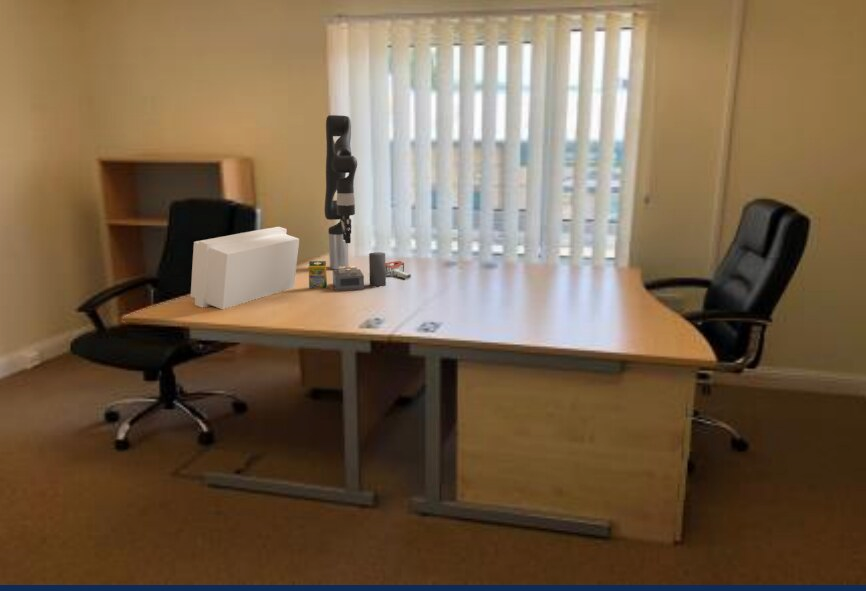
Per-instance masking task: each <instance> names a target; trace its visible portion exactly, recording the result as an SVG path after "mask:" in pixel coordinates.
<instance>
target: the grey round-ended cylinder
mask: <svg viewBox="0 0 866 591" xmlns="http://www.w3.org/2000/svg"><path fill="white" fill-rule="evenodd" d="M368 262H369V263H368V264H369V286H370V287H373V286H376V287H375V288H378V287H377V286H382V287H386V285H387V282H386V281H387V275H386V268H385V263H386V253H385V252H376V251H375V252H370V253H368Z"/></svg>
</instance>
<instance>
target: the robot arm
mask: <svg viewBox="0 0 866 591" xmlns="http://www.w3.org/2000/svg"><path fill="white" fill-rule="evenodd" d="M325 137H326V138H325V140H326V141H325V142H326V156H325V157H326V159H325V160H326V161H325V198H324V215H325V216H324V217H325V219H327V220H329V221H330V220H331V221H332V220H333V221H334V220H335V221H336V220H339V222H338V223H336V224H334V225H332V226H330V227H328V232H327V233H328V252H329V254H328V255H329V256H328V258H329V269H331V270H339V267H350V266H349V264H350V263H349V244H351V243H352V242H351V234H352V218H350V217H351V216H354V215H355V214H356V208H355V207H356V206H355V201H356V200H355V199H356V198H355V192H354V191H355V190H354V189H355V188H354V186H355V185H354V184H355V183H354V182H355V181H354V180H355V175H356V173H357V172H356V171H357V166H358V159H357V157H355V156H354V155H352V149H351V142H352V141H351V140H352V139H351V138H352V122H351V119H350V117H349V116H348V115H337V114H335V115H334V114H333V115H332V114H330V115H327V116H326V119H325ZM334 137H338V139H336V141H335V140H334ZM346 173H347V176H346ZM335 194H336V199H335V200H334V196H335Z"/></svg>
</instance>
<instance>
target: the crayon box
mask: <svg viewBox="0 0 866 591" xmlns="http://www.w3.org/2000/svg"><path fill="white" fill-rule="evenodd" d="M308 262H309V263H308V264H309V266H308V286H309V288H326V287H327V288H328V279H327V261H324V260H313V261H312V260H310V261H308ZM317 263H318V264H317ZM309 288H308V289H309ZM327 288H326V289H327Z"/></svg>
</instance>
